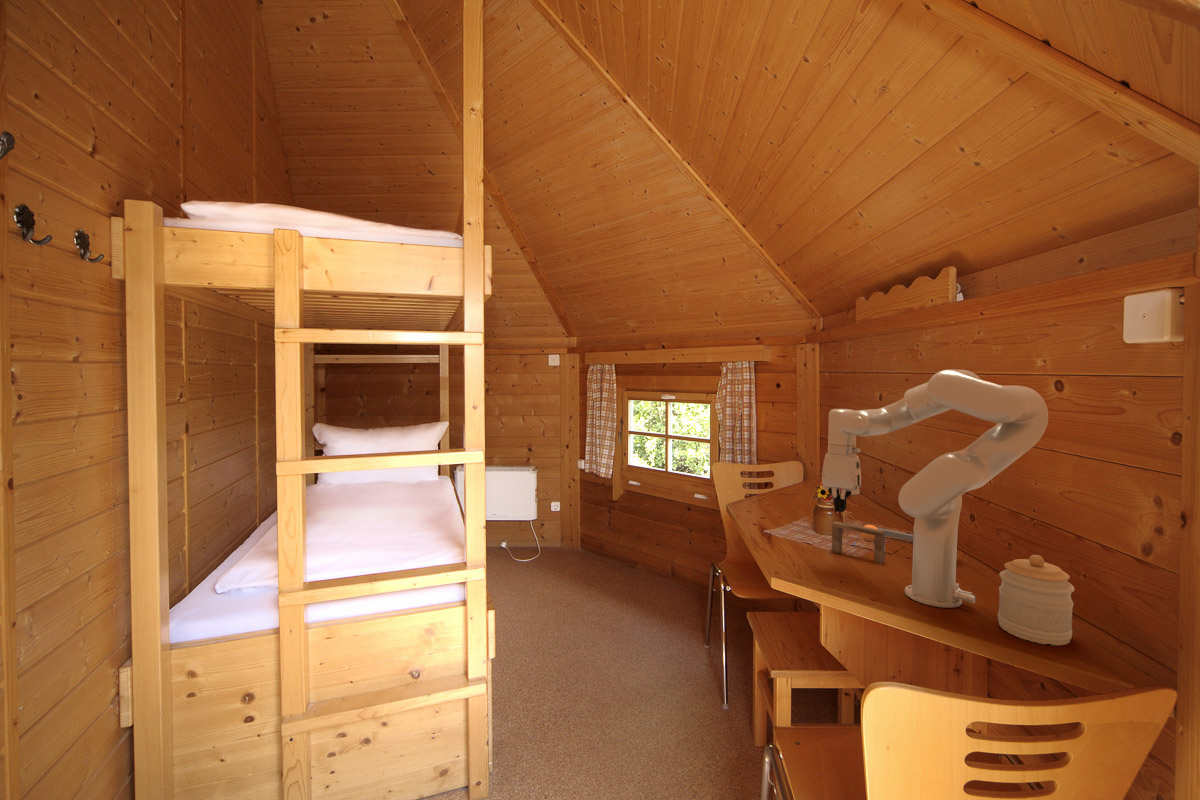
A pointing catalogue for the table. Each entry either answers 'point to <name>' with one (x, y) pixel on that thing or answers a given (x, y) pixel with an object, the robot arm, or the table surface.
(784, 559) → the table surface
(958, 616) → the table surface
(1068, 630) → the jar
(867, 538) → the ball
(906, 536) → the grey long bar
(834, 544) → the bridge
